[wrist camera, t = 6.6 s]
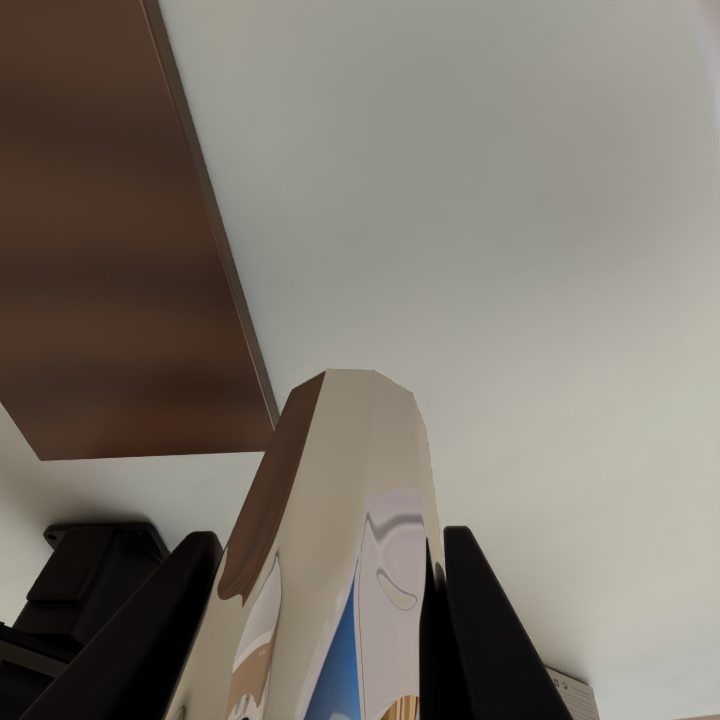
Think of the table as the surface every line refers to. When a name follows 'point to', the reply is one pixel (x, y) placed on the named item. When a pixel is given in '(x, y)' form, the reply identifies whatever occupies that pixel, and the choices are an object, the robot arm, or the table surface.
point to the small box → (576, 696)
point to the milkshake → (328, 574)
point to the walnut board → (115, 248)
